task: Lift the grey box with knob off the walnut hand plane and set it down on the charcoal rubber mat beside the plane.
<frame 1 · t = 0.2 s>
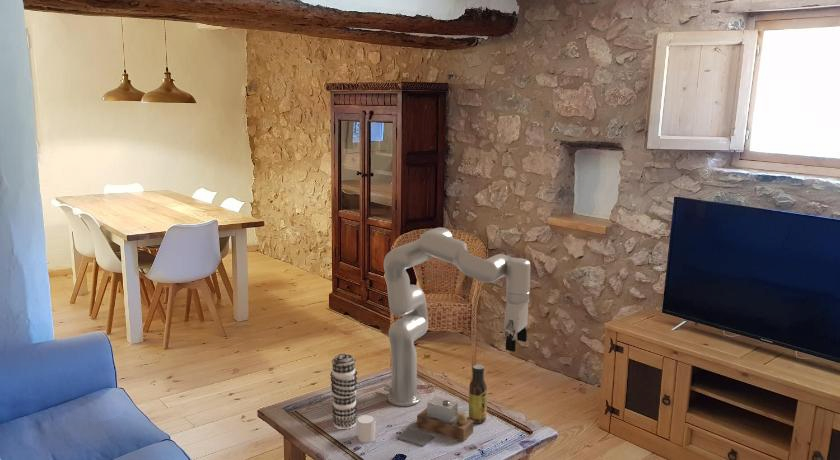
hand: (516, 345, 209), 31 cm above the table, fingers open, 9 cm apart
grey box with knob: (442, 416, 215), point 5 cm above the table, touching hand plane
white cylinder: (366, 438, 211), on the table
rubber mat: (415, 437, 211), on the table
sauce bottle: (477, 420, 223), on the table
model tower building: (345, 424, 220), on the table
hand plane: (444, 429, 216), on the table
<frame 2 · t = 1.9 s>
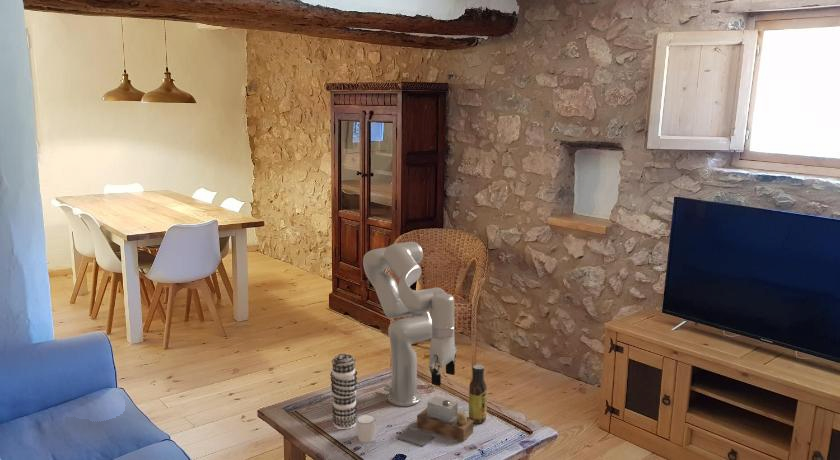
hand: (443, 379, 212), 19 cm above the table, fingers open, 9 cm apart
nothing on the table moved.
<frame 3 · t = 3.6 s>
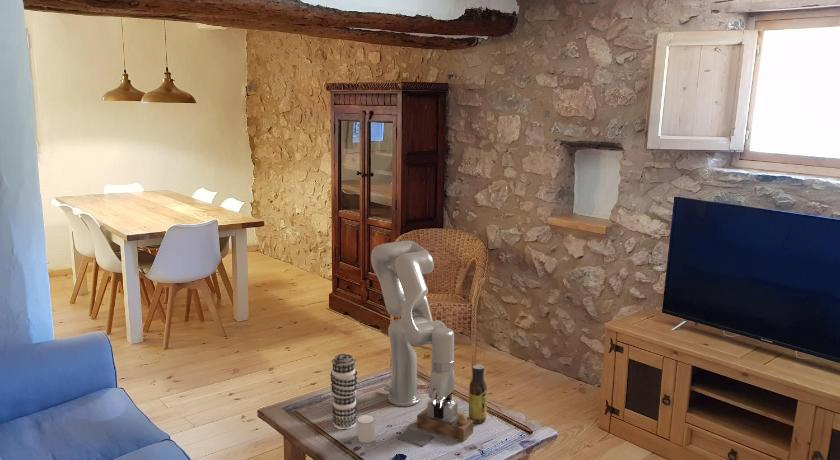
hand: (442, 413, 215), 6 cm above the table, fingers closed on grey box with knob, 5 cm apart
grey box with knob: (442, 416, 215), point 5 cm above the table, touching gripper, hand plane
everything else where it was.
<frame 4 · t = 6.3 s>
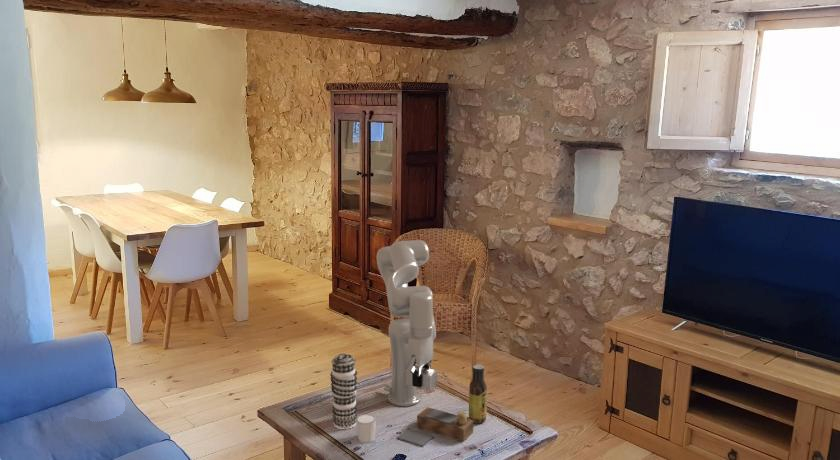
hand: (421, 382, 208), 19 cm above the table, fingers closed on grey box with knob, 5 cm apart
grey box with knob: (421, 384, 208), point 19 cm above the table, touching gripper
everything else where it was.
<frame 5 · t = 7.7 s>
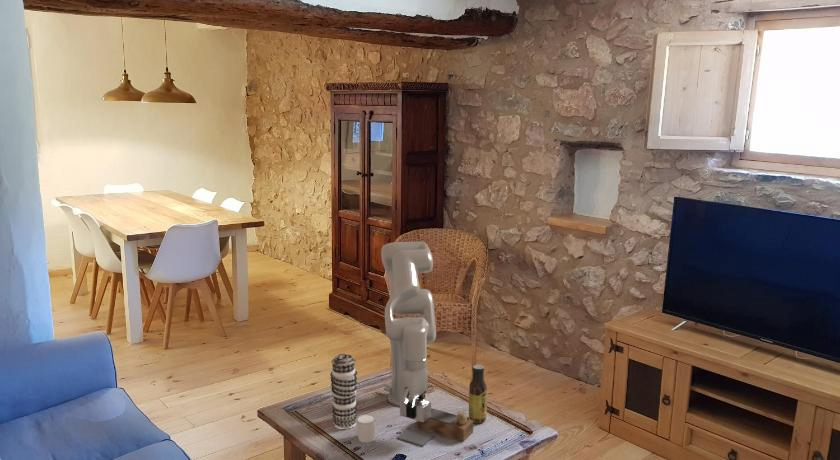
hand: (415, 413, 209), 9 cm above the table, fingers closed on grey box with knob, 5 cm apart
grey box with knob: (415, 415, 209), point 8 cm above the table, touching gripper
everything else where it was.
when the fingers open (3 cm above the table, at t = 9.1 s): grey box with knob drops 1 cm, resting on rubber mat.
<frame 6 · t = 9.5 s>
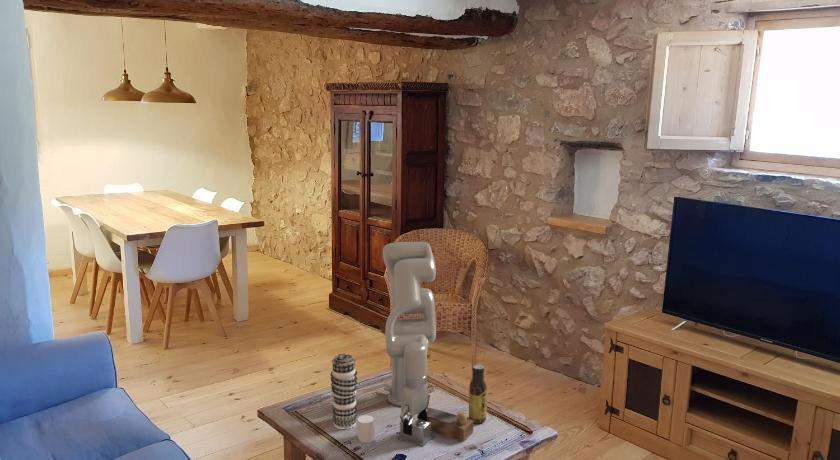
hand: (415, 427, 210), 4 cm above the table, fingers open, 9 cm apart
grey box with knob: (415, 436, 211), resting on rubber mat
everything else where it was.
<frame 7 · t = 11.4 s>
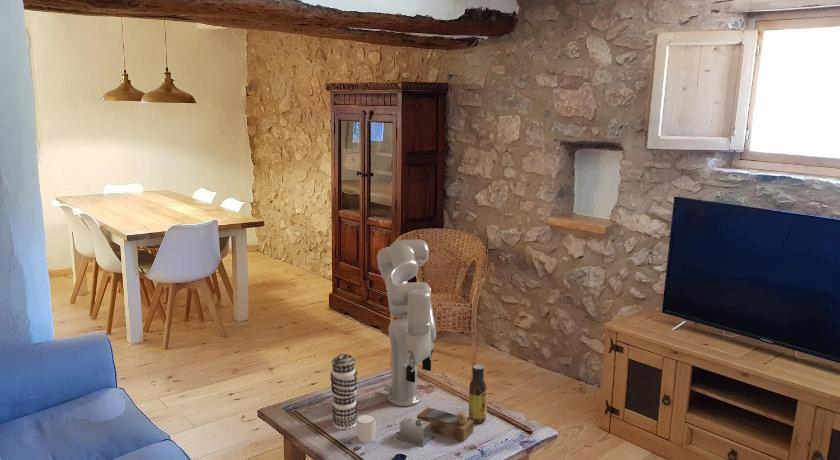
hand: (418, 375, 209), 21 cm above the table, fingers open, 9 cm apart
nothing on the table moved.
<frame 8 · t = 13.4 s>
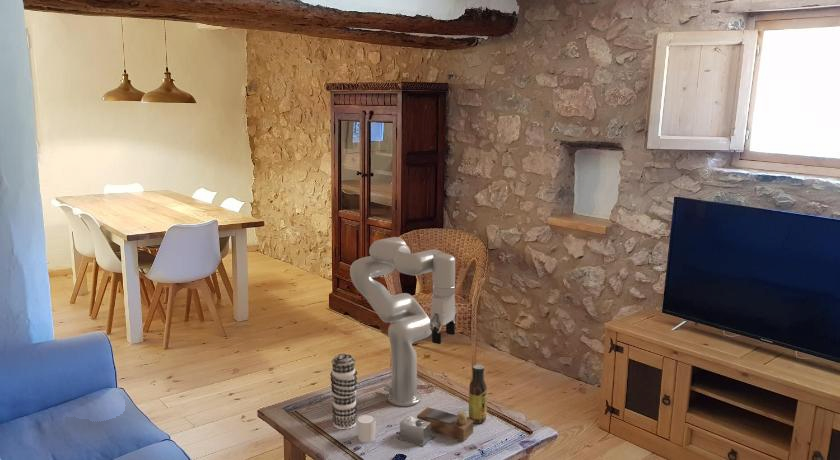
hand: (443, 338, 217), 30 cm above the table, fingers open, 9 cm apart
nothing on the table moved.
at the end: grey box with knob inside the target area (0.1 cm from its centre), point 0.5 cm above the table; grey box with knob tilted 0°; the gripper is holding nothing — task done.
